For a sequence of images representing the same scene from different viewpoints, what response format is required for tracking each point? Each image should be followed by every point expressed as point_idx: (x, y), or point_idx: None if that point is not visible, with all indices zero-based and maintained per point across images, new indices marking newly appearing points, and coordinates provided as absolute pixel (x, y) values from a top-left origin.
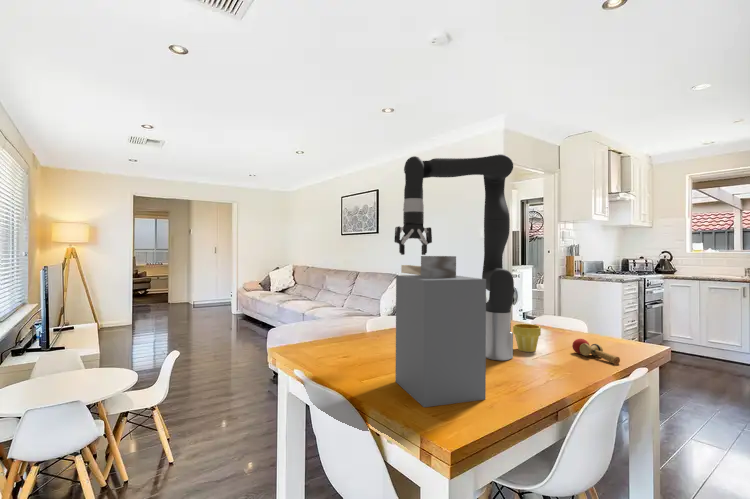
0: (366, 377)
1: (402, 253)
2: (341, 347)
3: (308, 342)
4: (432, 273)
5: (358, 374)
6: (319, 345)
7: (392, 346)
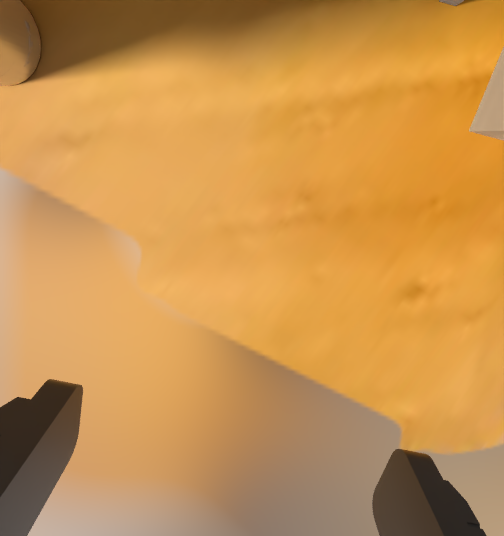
0: None
1: (425, 471)
2: (366, 375)
3: None
4: None
5: None
6: (403, 417)
7: (234, 319)
